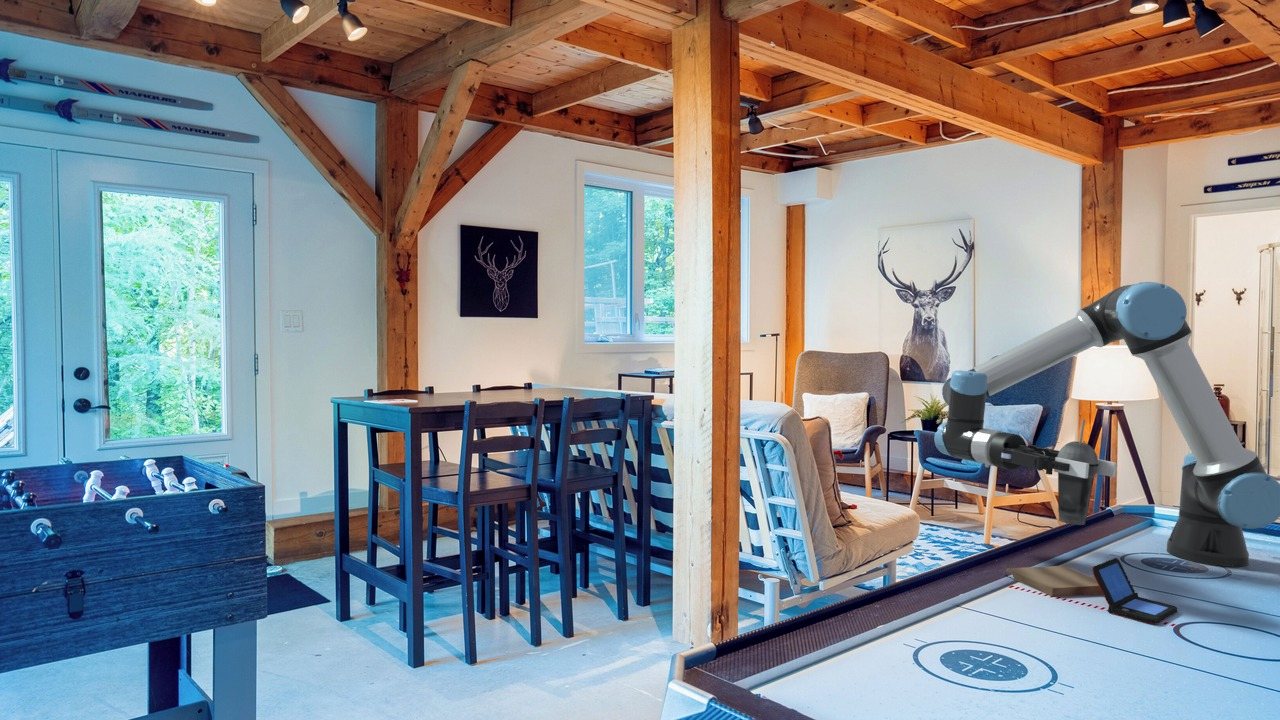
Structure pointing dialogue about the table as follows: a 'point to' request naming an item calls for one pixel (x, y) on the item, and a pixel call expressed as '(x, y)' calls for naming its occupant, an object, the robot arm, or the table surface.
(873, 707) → the table surface
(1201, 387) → the robot arm
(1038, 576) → the walnut board
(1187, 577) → the table surface
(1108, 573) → the handheld game console
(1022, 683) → the table surface
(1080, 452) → the beverage cup
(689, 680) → the table surface
